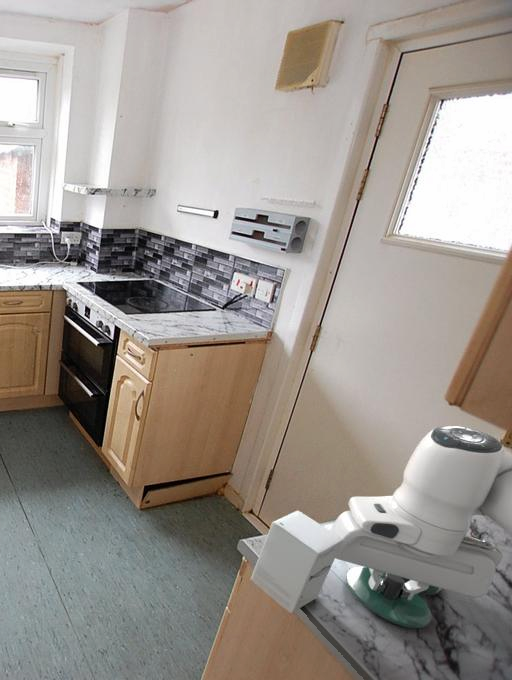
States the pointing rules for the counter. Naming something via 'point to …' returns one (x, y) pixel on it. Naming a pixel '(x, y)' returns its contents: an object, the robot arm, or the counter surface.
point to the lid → (388, 599)
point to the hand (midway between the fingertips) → (388, 592)
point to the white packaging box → (295, 560)
